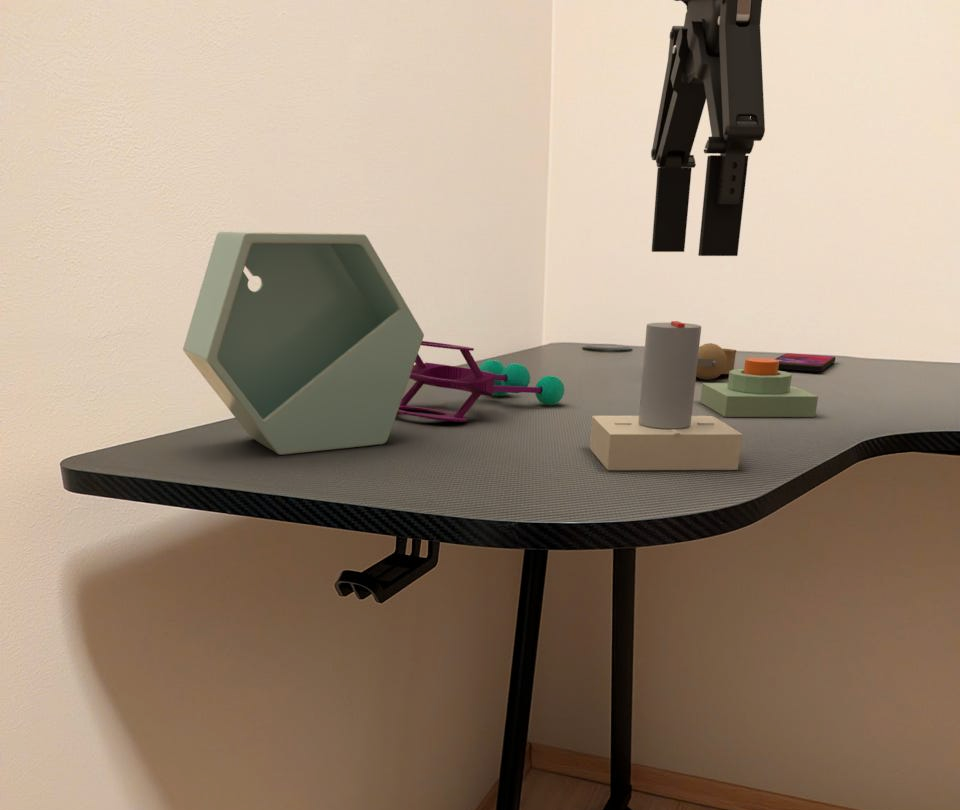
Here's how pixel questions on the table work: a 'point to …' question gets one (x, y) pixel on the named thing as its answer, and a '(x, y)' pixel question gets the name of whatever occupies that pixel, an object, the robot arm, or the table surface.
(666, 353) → the cylinder
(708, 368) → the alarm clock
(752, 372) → the button
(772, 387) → the button block
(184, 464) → the table surface
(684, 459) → the dial panel
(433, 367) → the purple framed piece
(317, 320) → the planter
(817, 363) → the smartphone
